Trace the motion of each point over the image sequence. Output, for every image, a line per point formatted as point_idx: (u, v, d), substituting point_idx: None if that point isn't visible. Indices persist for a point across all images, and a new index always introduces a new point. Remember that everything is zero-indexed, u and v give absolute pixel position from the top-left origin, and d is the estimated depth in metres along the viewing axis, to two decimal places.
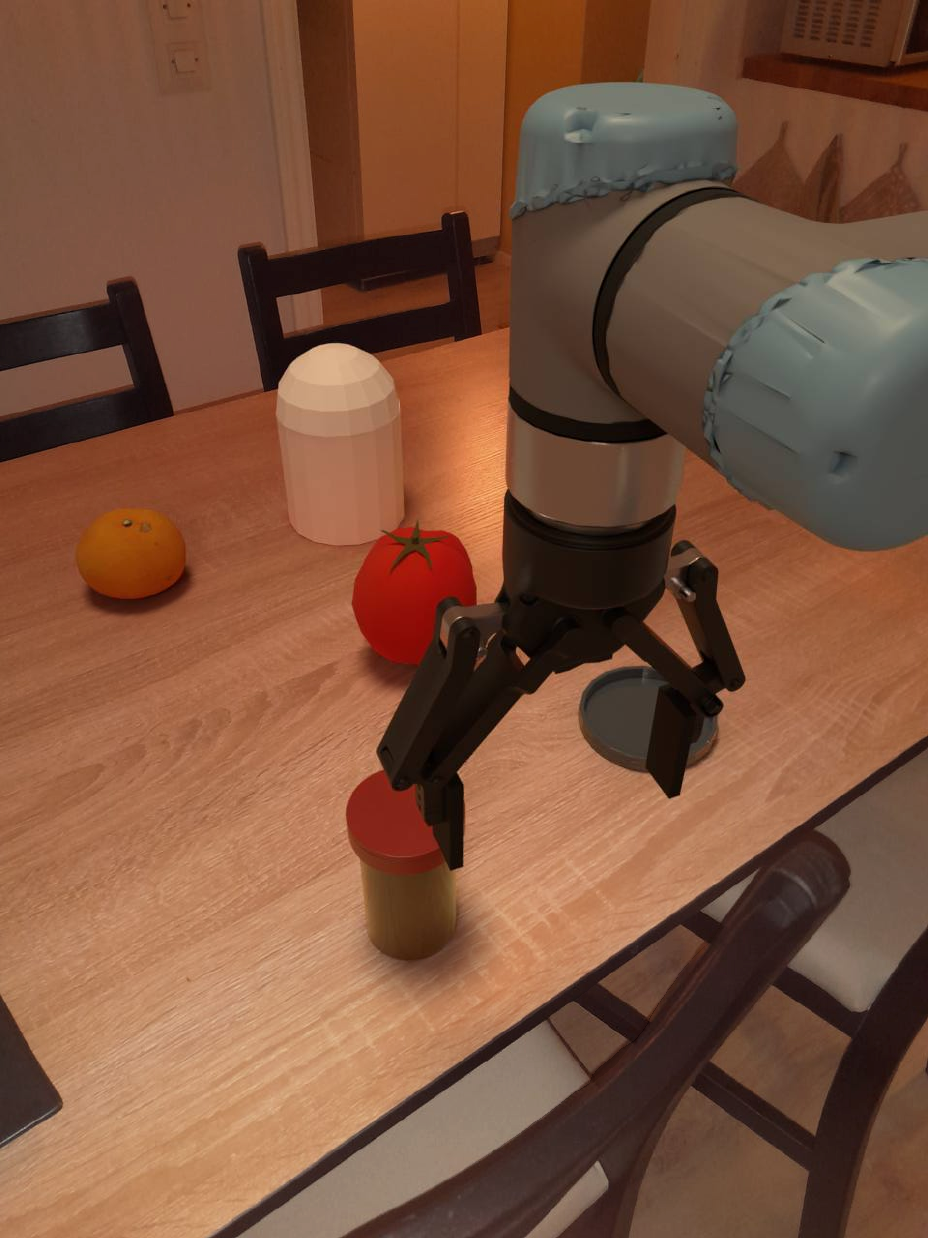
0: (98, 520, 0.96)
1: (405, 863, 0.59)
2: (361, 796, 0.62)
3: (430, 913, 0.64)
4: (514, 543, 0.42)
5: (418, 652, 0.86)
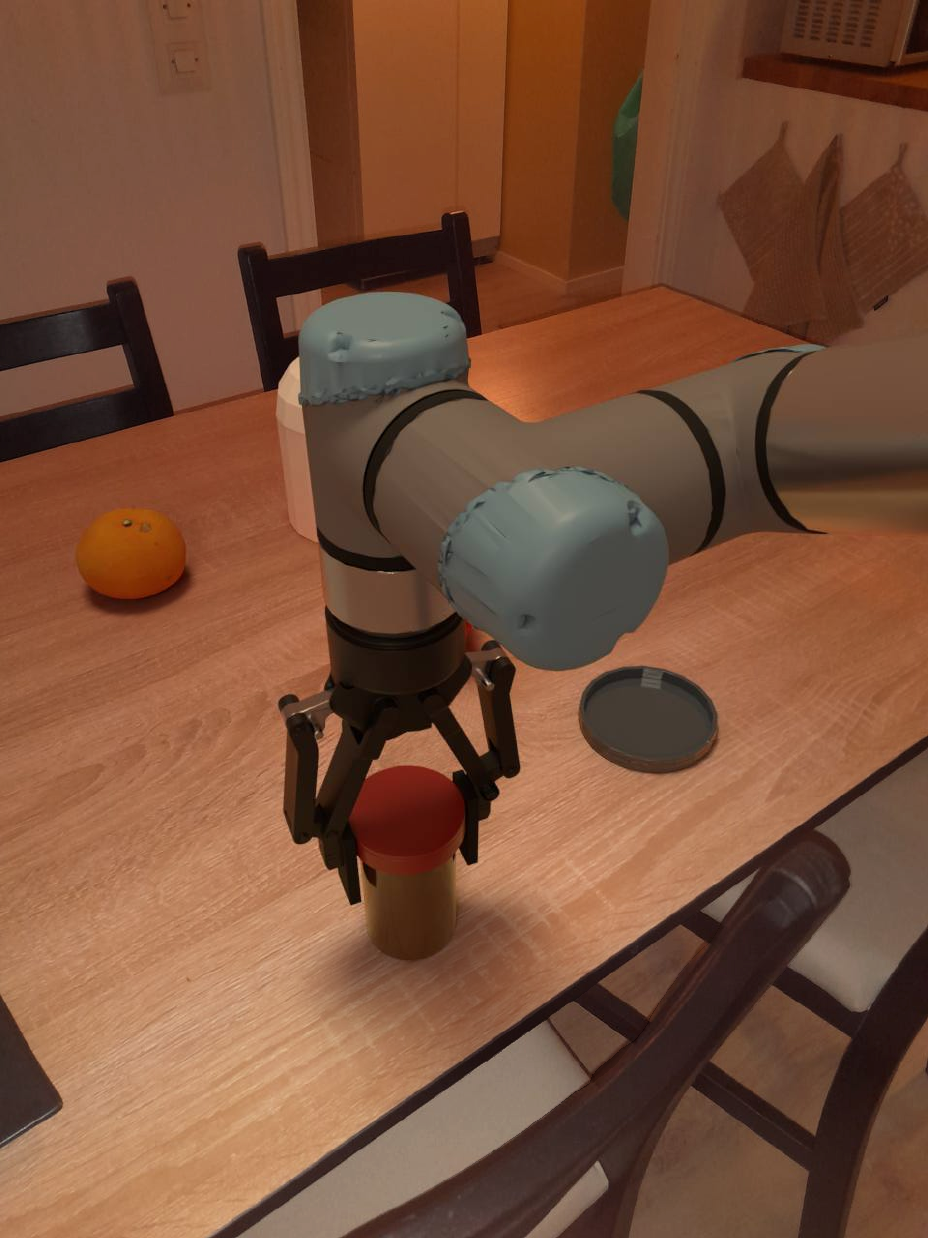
0: (98, 520, 0.96)
1: (405, 863, 0.59)
2: (361, 796, 0.62)
3: (430, 913, 0.64)
4: (331, 641, 0.51)
5: None
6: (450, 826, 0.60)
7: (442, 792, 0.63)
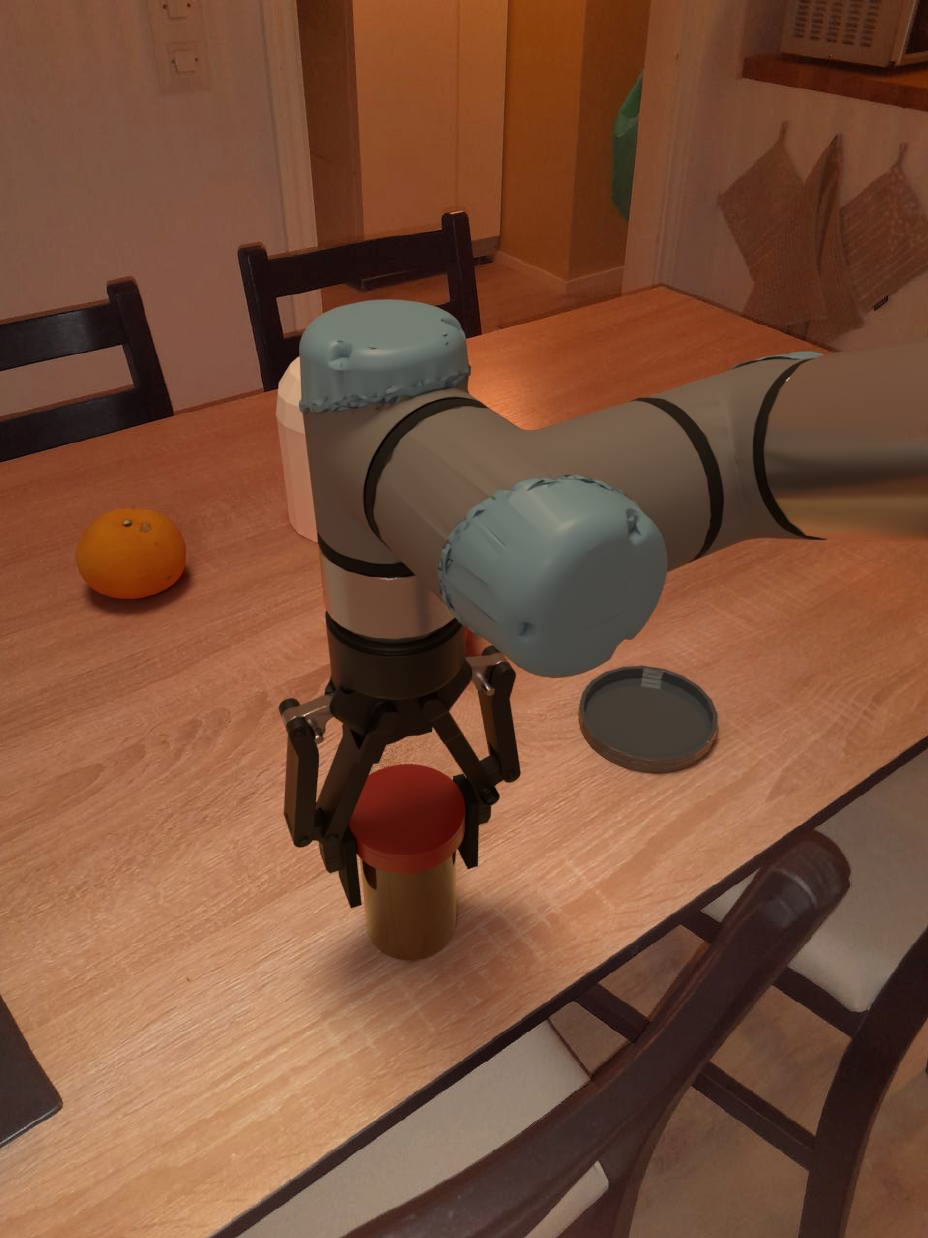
0: (98, 520, 0.96)
1: None
2: (390, 845, 0.59)
3: (430, 913, 0.64)
4: (331, 646, 0.51)
5: None
6: (425, 772, 0.64)
7: (383, 781, 0.63)
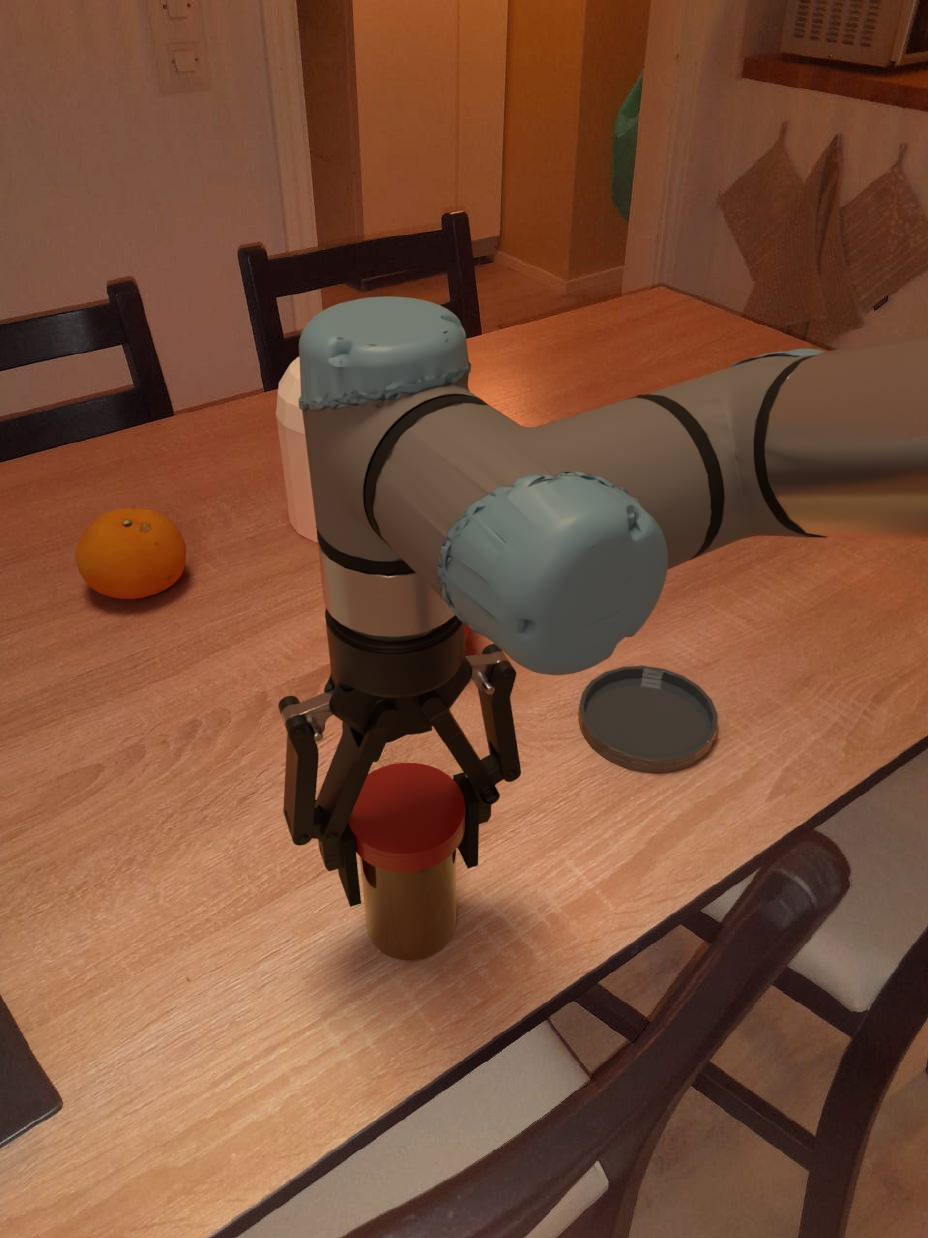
0: (98, 520, 0.96)
1: None
2: (453, 812, 0.61)
3: (430, 913, 0.64)
4: (331, 643, 0.51)
5: None
6: None
7: (371, 828, 0.60)
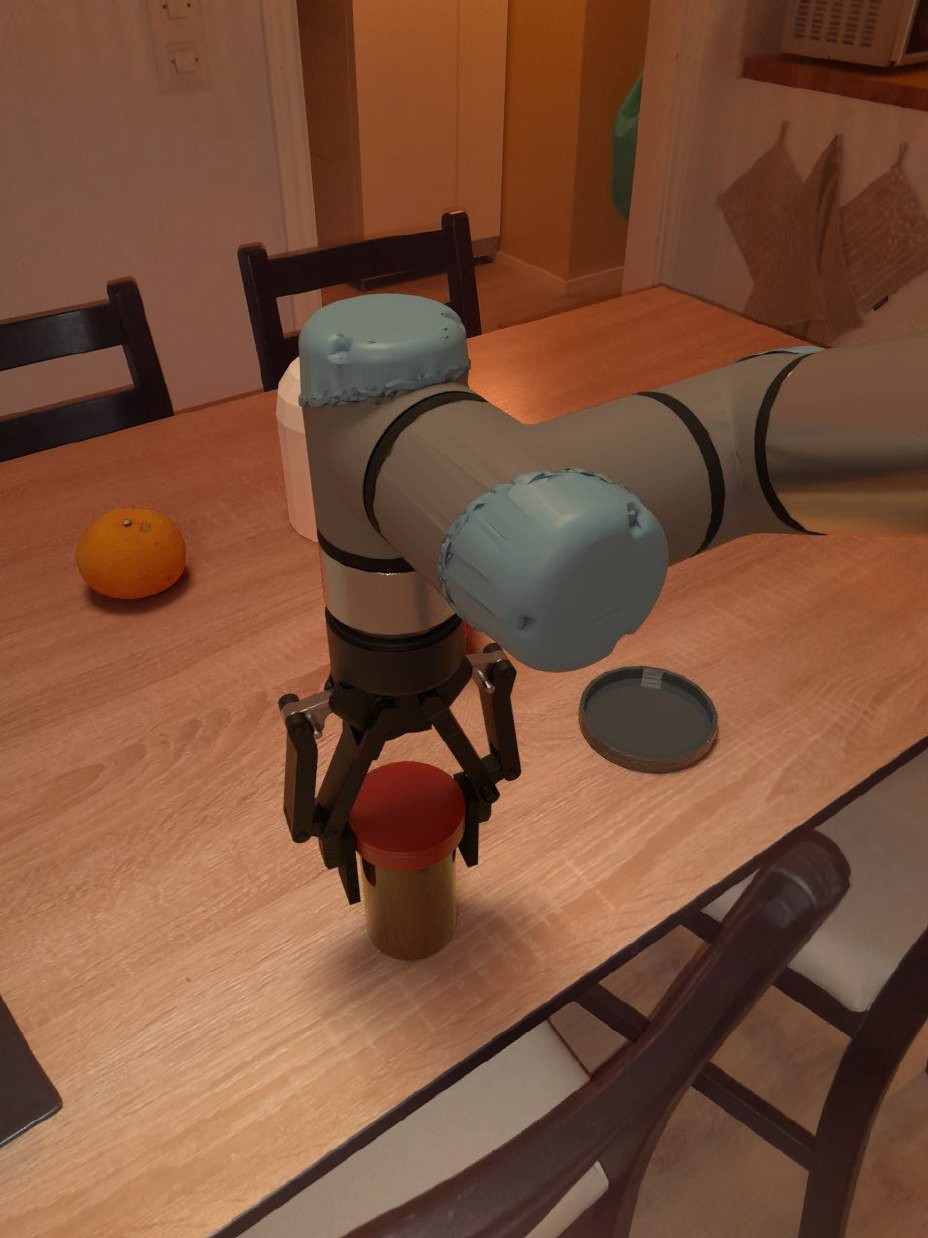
0: (98, 520, 0.96)
1: None
2: (411, 768, 0.64)
3: (430, 913, 0.64)
4: (330, 641, 0.51)
5: None
6: (392, 844, 0.59)
7: (435, 828, 0.60)
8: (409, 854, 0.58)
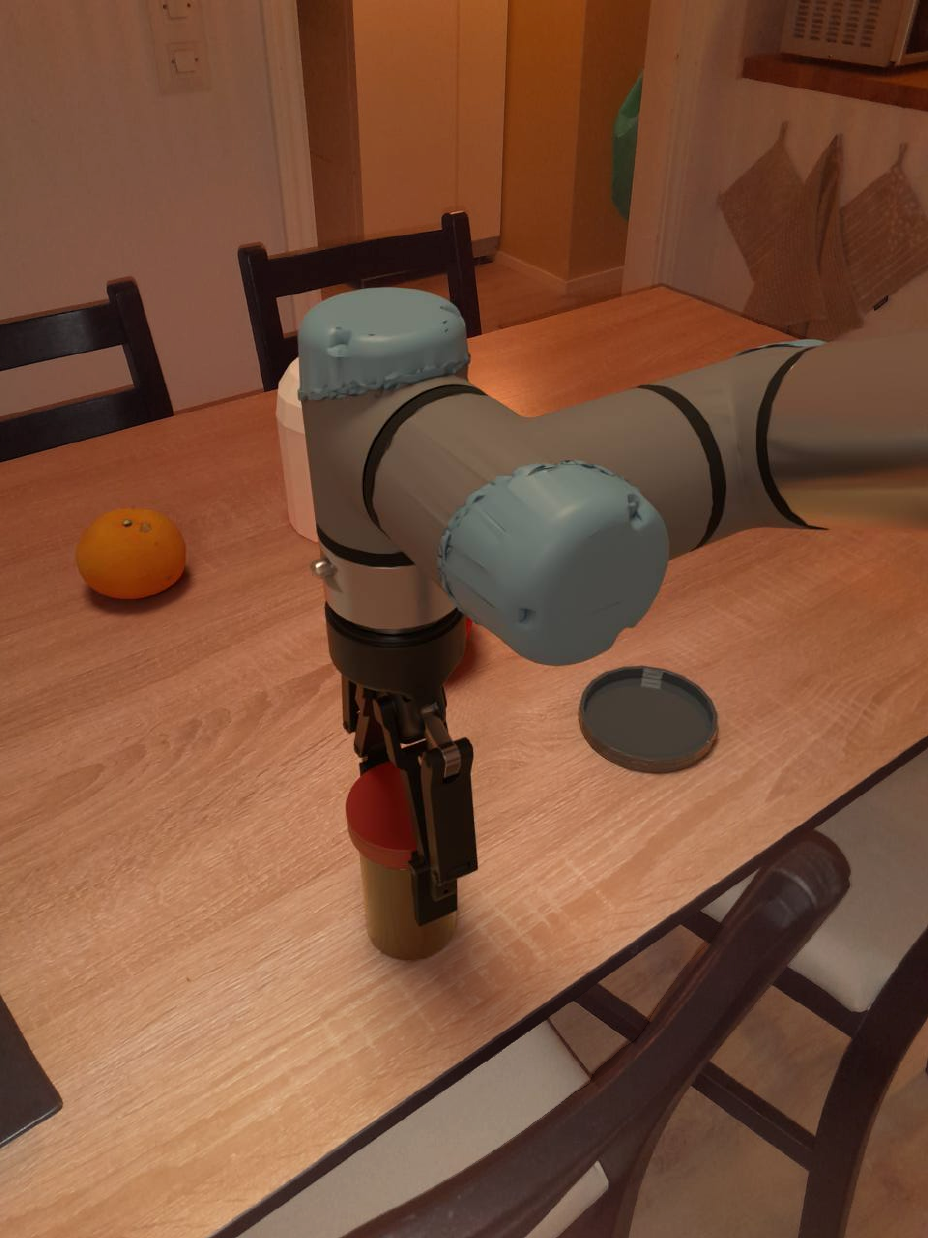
0: (98, 520, 0.96)
1: None
2: (357, 803, 0.61)
3: None
4: (432, 655, 0.49)
5: None
6: None
7: None
8: None
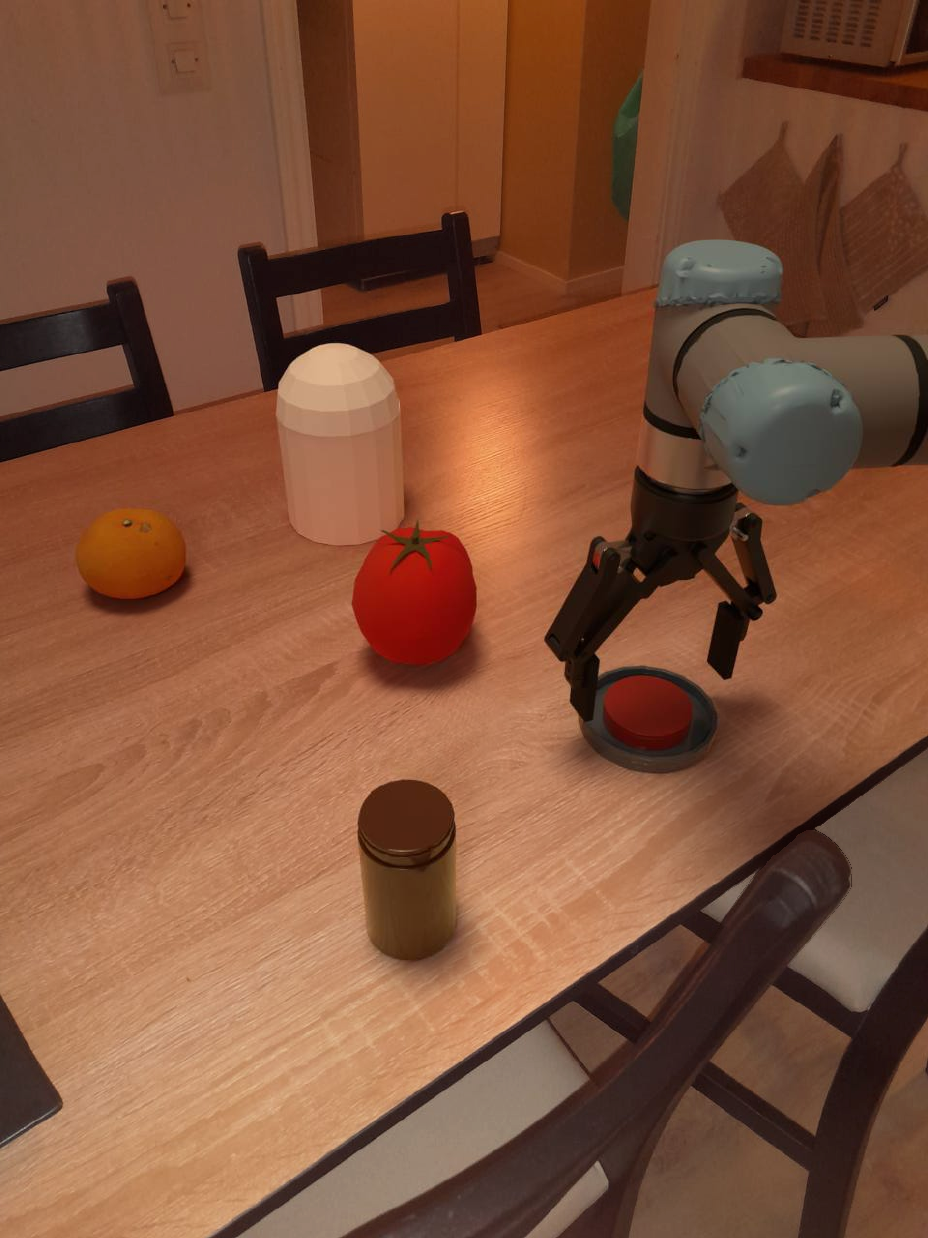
0: (98, 520, 0.96)
1: None
2: (651, 729, 0.81)
3: (430, 913, 0.64)
4: None
5: (418, 652, 0.86)
6: (649, 680, 0.86)
7: (622, 690, 0.85)
8: None
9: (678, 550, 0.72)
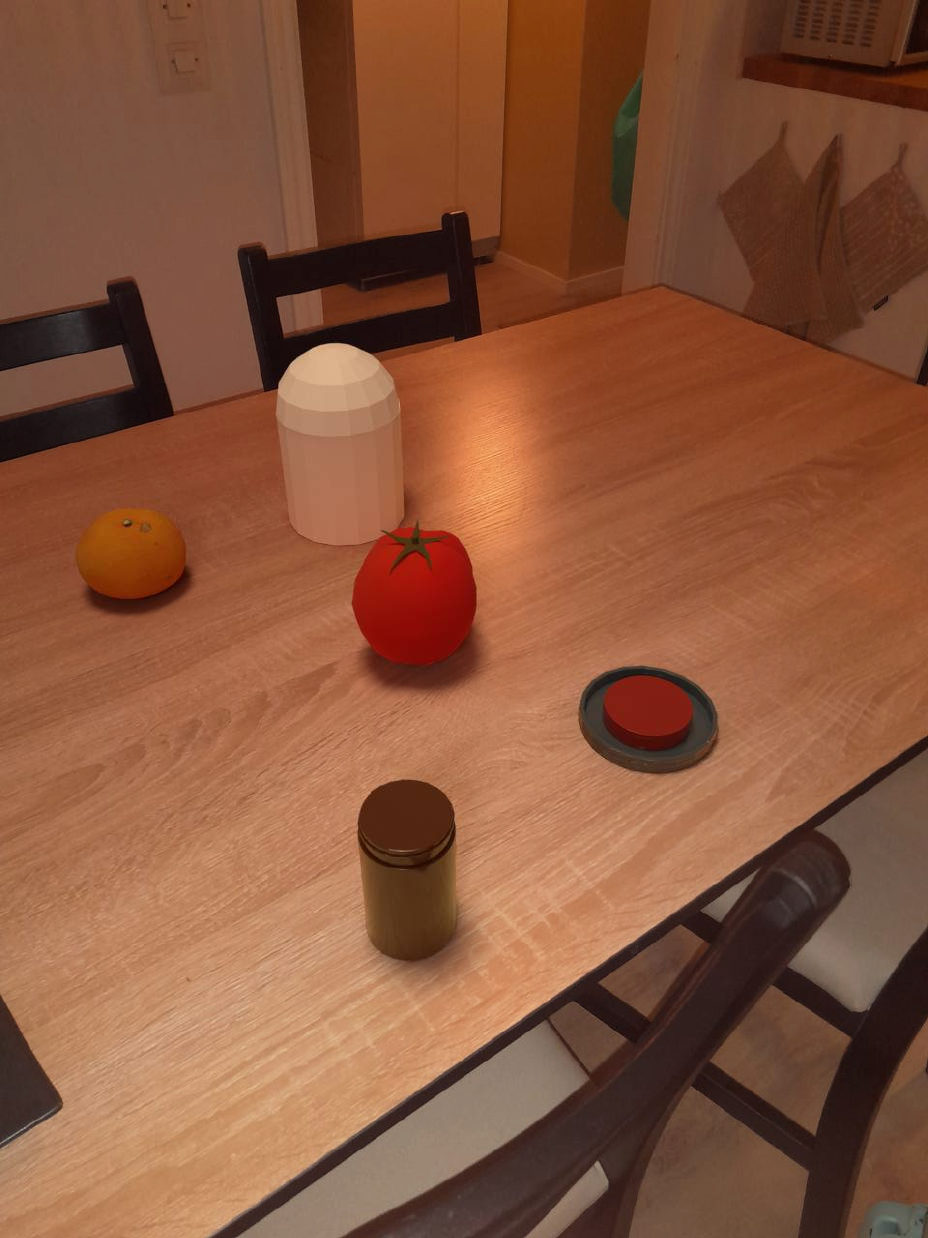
0: (98, 520, 0.96)
1: None
2: (651, 729, 0.81)
3: (430, 913, 0.64)
4: None
5: (418, 652, 0.86)
6: (649, 680, 0.86)
7: (622, 690, 0.85)
8: None
9: None
